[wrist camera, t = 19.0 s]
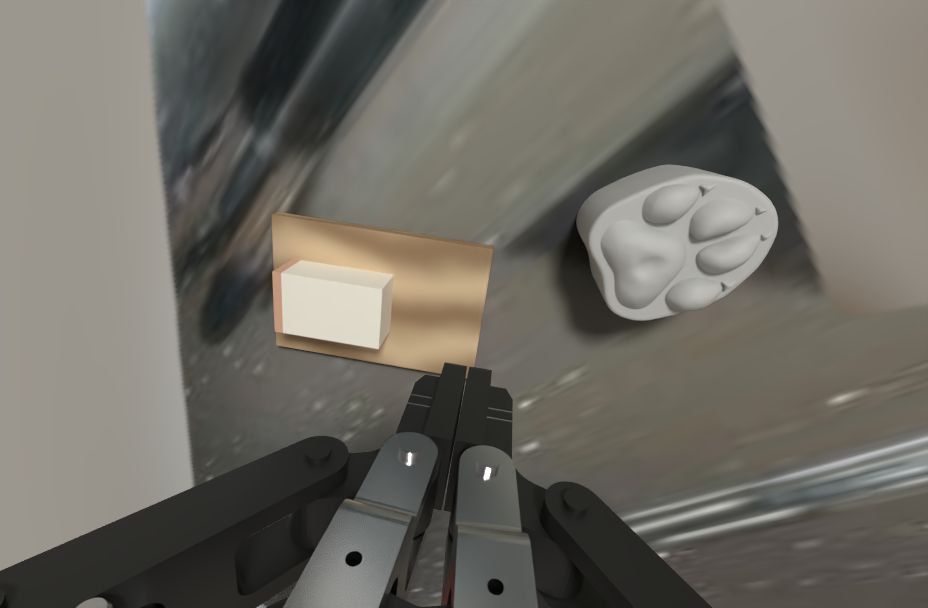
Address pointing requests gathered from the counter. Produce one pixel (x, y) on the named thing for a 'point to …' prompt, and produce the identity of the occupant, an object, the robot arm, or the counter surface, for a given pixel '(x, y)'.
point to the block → (332, 303)
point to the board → (398, 288)
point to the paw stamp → (674, 239)
